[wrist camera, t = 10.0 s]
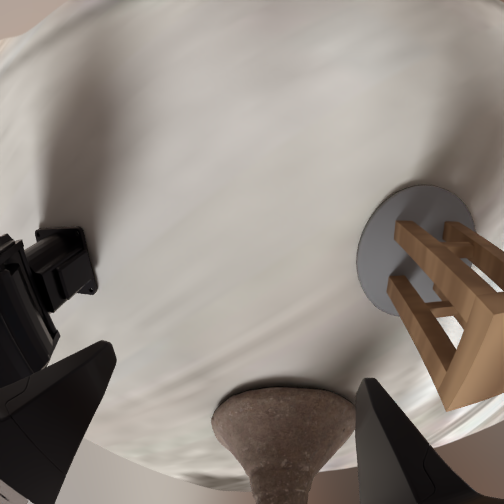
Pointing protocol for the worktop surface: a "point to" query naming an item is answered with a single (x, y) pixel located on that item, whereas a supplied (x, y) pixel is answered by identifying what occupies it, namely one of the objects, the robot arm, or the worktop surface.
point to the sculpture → (283, 437)
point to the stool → (455, 311)
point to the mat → (392, 254)
